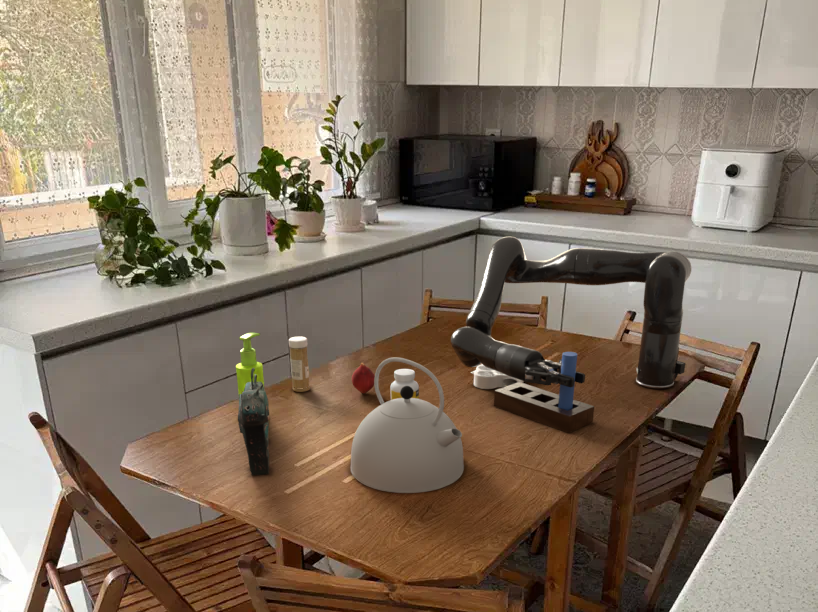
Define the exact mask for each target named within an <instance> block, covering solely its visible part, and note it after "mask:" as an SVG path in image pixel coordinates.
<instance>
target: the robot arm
mask: <svg viewBox="0 0 818 612" xmlns="http://www.w3.org/2000/svg"><path fill="white" fill-rule="evenodd" d="M692 268H693V267H692V263H691V261H690V260H689V258H688V257H687V256H686V255H684V254H683V253H681V252H679V251H676V250H675V251H674V250H669V251H668V250H667V251H656V252H628V251H620V250H611V249H602V248H589V247H588V248H586V247H575V248H574V247H573V248H571V249H568V250H565V251H563V252H561V253H559V254H558V255H556V256H554V257H552V258H549V259H546V260H530V259H527V255H526V253H525V249H524V246H523V243H522V242H521V240H520V239H518V238H517V237H515V236H504V237H501V238H499V239H497V240H496V241H494V243H493V244H492V246H491V247H490V250H489V253H488V256H487V261H486V266H485V269H484V273H483V276H482V280H481V282H480V286H479V288H478V291H477V294H476V297H475V299H474V301H473V303H472V305H471V307H470V309H469V311H468V314H467V316H466V320H465V326H462V327H459V328H457V329H455V331H453V332H452V334H451V337H450V345H451V347H452V349H453V351H454V352H455V354H456V356H457V358H458V359H459V361H460V362H461V364H463V365H464V366H465V367H466V368H475V367H476V368H477V366H479V365H481V364H483V365H484V366H485V367H487V368H490V369H493V370H496V371H499V372H501V373H503V374H505V375H507V376H510V377H514V378H517V379H520V380H523V381H524V382H525V383H529V384H537V385H543V386H551V385H552V384H553V385H560V384H561V385H564V386H567V387H573V386H574V378H573V377H571V376H567V375H564V374H561V366H562V358H560V359H559V360H558V362H556V361H553V360H551V359H545V358H544V356H543V354H542V353H541V352H540V351H539V350H535V349H532V348H529V347H526V346H521V345H519V344H513V343H507V342H504V341H500V340H496V339H494V338H493V337H492V329H493V328H494V325H495V323H496V321H497V318H498V316H499V314H500V311H501V306H502V302H503V296H504V288H505V284H533V283H544V284H545V283H547V284H548V283H549V284H570V285H578V286H606V285H607V286H608V285H616V284H623V283H641V284H644V293H643V312H644V313H643V320H642V330H641V338H640V345H639V354H638V362H637V367H636V371H635V372H636V377H635V383H636V384H637V385H639V386H641V387H643V388H648V389H656V390H663V389H665V390H666V389H670V388H673V387H674V384H675V380H677V378H678V375H682V374H685V369H686V362H684V361H680V360H678V359H679V352H680V347H679V345H680V339H681V330H682V324H683V317H684V308H683V307H684V306H683V300H684V293H685V286H686V282H687V281H688V280H689V278H690V277H691V275H692V274H691V273H692ZM585 381H586V374H585V373H583V372H580V371H577V370H576V375H575V383H578V384H584V383H585ZM574 387H575V386H574Z"/></svg>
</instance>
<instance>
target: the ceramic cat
mask: <svg viewBox="0 0 818 612" xmlns="http://www.w3.org/2000/svg"><path fill="white" fill-rule="evenodd" d="M254 371H255V368H252V369H251V382H247V383H246V385H245V388H244V391H243V392H242V394H239V393H238V410H237V411H238V412H237V422H238V428H239V433H240V434H242V437H243V441H244V445H245V448H246V453H247V459H248V466H249V472H250V475H251V476H263V475H264V476H265V475H269V474H270V446H269V428H270V427H269V421H270V420H271V417H270V408H269V407H270V406H269V398H268V395H267V392H266V389H265V383H264V384H263V383H262V382H256V380H257V375H256V374H255V375H254V382H253V372H254ZM263 385H264V386H263Z"/></svg>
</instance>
